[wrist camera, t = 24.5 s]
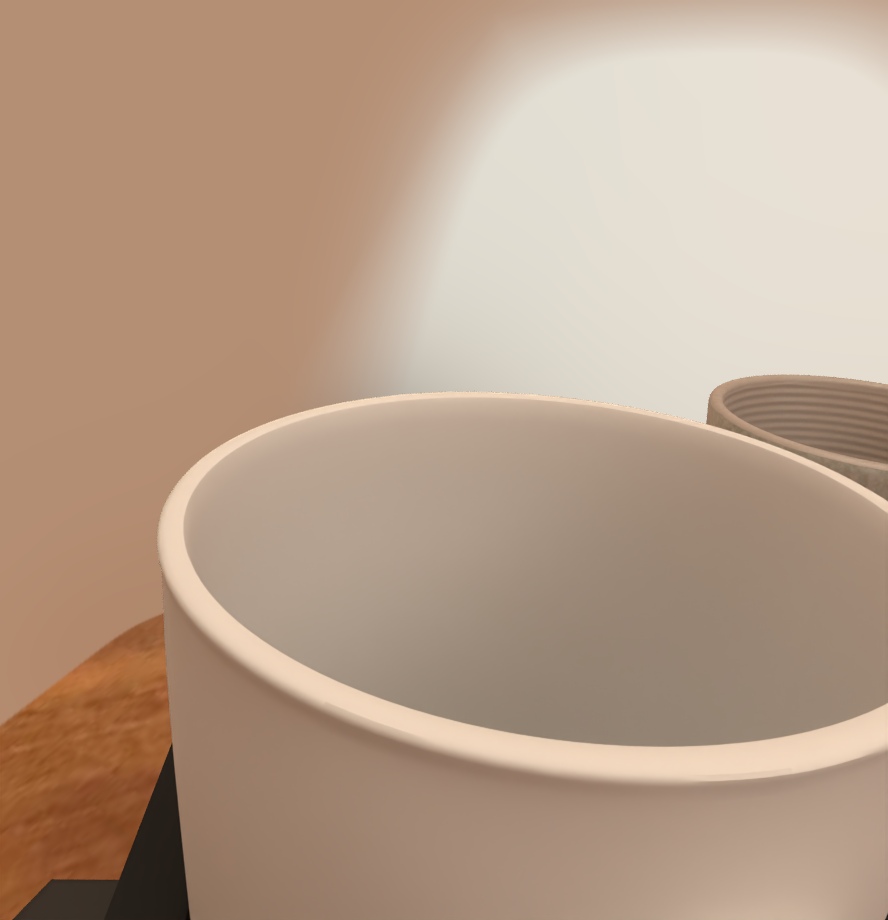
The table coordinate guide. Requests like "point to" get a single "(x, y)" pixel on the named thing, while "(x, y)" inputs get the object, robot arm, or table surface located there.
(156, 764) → the table surface
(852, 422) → the planter
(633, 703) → the mug
